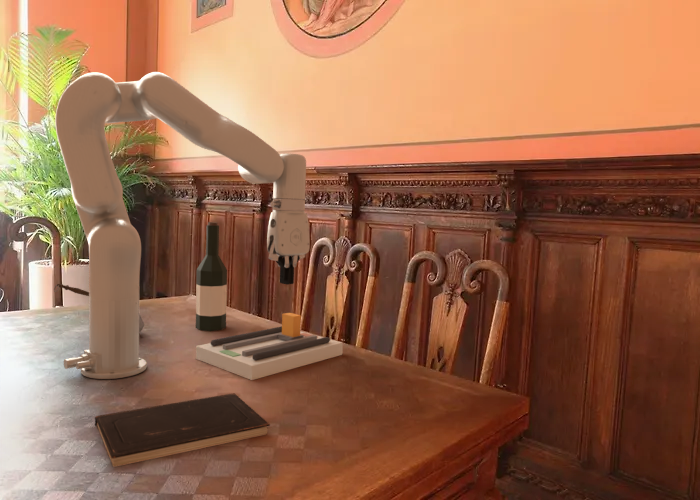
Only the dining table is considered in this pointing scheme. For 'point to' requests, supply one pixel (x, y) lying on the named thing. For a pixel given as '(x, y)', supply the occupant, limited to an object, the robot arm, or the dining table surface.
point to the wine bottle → (211, 285)
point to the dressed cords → (274, 351)
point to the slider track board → (241, 362)
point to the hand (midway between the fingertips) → (286, 283)
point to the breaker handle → (290, 327)
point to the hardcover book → (177, 428)
